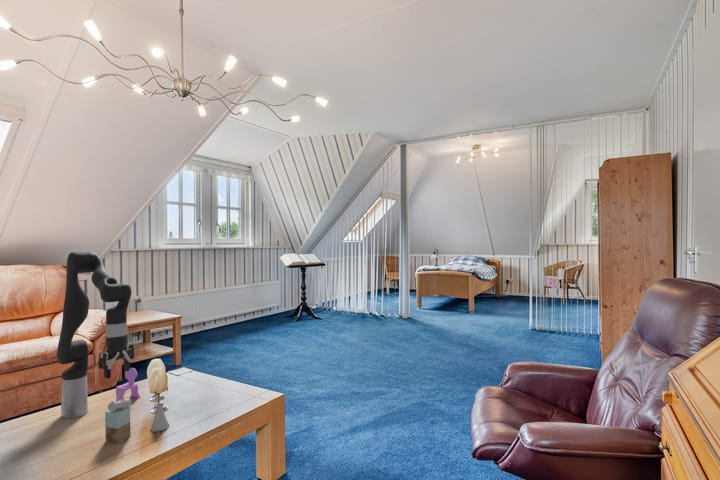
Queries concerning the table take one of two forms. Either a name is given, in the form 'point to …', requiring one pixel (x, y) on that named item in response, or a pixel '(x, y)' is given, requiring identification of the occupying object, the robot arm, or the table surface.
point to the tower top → (117, 418)
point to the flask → (159, 419)
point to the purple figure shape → (128, 385)
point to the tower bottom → (118, 434)
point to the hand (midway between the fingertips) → (117, 374)
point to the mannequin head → (119, 404)
